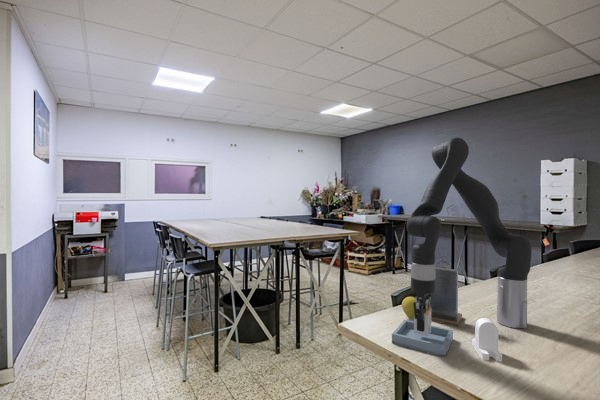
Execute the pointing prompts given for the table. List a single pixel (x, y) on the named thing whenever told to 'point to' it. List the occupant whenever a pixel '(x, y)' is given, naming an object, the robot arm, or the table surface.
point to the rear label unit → (445, 297)
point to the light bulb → (409, 308)
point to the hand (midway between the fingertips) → (422, 327)
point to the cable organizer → (486, 339)
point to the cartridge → (426, 324)
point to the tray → (423, 338)
